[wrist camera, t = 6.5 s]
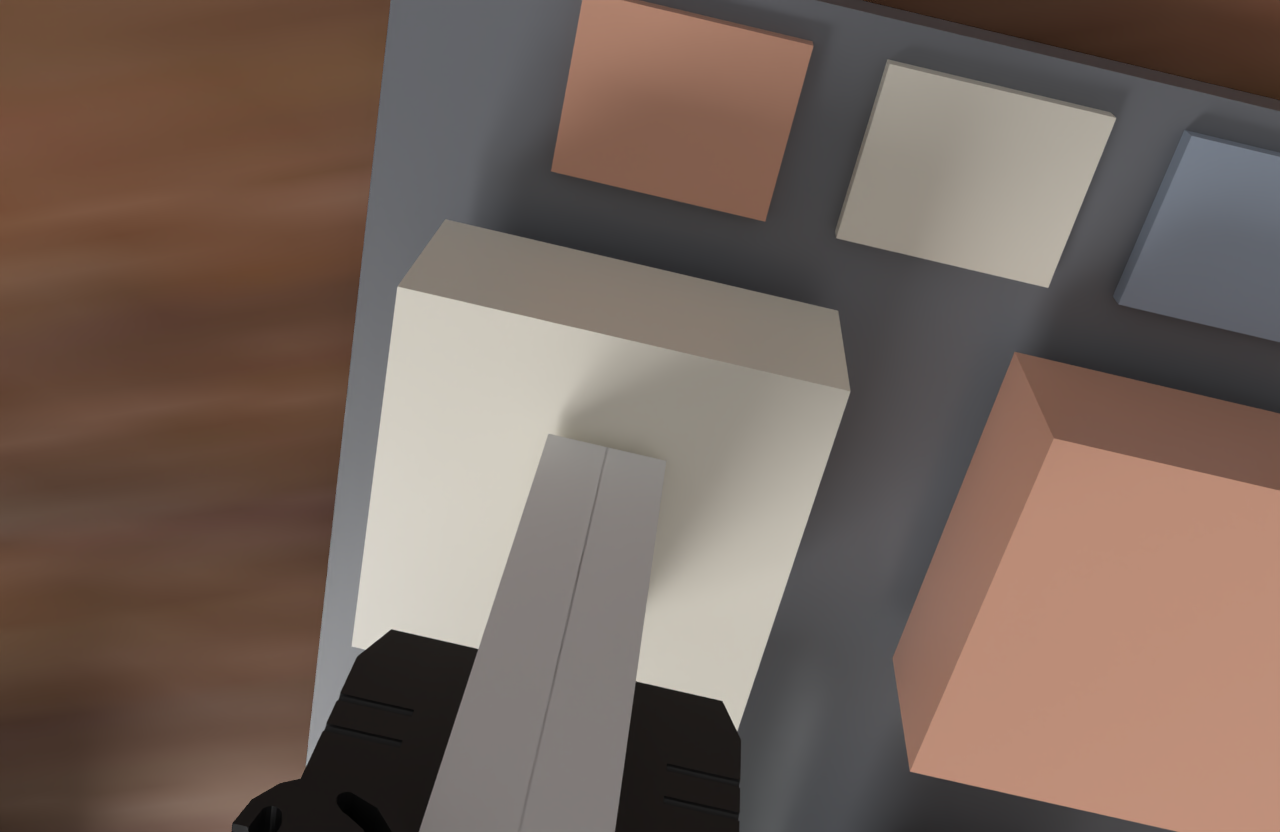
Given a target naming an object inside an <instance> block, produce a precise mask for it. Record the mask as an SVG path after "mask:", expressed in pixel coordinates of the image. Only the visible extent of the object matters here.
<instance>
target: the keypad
mask: <svg viewBox="0 0 1280 832" xmlns="http://www.w3.org/2000/svg"><path fill="white" fill-rule="evenodd" d="M445 219H447V220H451V221H455V222H460V223H464V224H468V225H472V226H477V227H481V228H485V229H490V230H494V231H498V232H503V233H507V234H511V235H515V236H520V237H524V238H528V239H533V240H537V241H541V242H545V243H550V244H554V245H558V246H563V247H567V248H571V249H575V250H580V251H584V252H588V253H593V254H597V255H601V256H606V257H610V258H614V259H618V260H623V261H627V262H631V263H636V264H640V265H644V266H648V267H653V268H657V269H661V270H666V271H670V272H674V273H678V274H683V275H687V276H691V277H696V278H700V279H704V280H709V281H713V282H717V283H721V284H726V285H730V286H734V287H739V288H743V289H747V290H751V291H756V292H760V293H764V294H769V295H773V296H777V297H781V298H786V299H790V300H794V301H799V302H803V303H807V304H812V305H816V306H820V307H824V308H829V309H833V310H837V311H838V313H839V319H840V326H841V332H842V339H843V345H844V352H845V358H846V365H847V371H848V378H849V385H850V391H851V392H850V395H849V398H848V401H847V404H846V407H845V410H844V413H843V416H842V419H841V422H840V425H839V428H838V431H837V434H836V437H835V440H834V443H833V446H832V449H831V452H830V455H829V458H828V461H827V464H826V467H825V470H824V473H823V476H822V479H821V482H820V485H819V488H818V491H817V494H816V497H815V500H814V503H813V506H812V509H811V512H810V515H809V518H808V521H807V524H806V527H805V530H804V533H803V536H802V539H801V542H800V545H799V548H798V551H797V554H796V557H795V560H794V563H793V566H792V569H791V572H790V575H789V578H788V581H787V584H786V587H785V590H784V593H783V596H782V599H781V602H780V605H779V608H778V611H777V614H776V617H775V620H774V623H773V626H772V629H771V632H770V635H769V638H768V641H767V644H766V647H765V650H764V653H763V656H762V659H761V662H760V665H759V668H758V671H757V674H756V677H755V680H754V683H753V686H752V689H751V692H750V695H749V698H748V701H747V704H746V707H745V710H744V713H743V716H742V719H741V722H740V725H739V728H738V731H737V732H738V734H739V736H740V739H741V774H740V783H739V788H740V813H739V818H738V821H740V823H739V832H1177V831H1173V830H1168V829H1164V828H1159V827H1155V826H1150V825H1146V824H1141V823H1137V822H1132V821H1128V820H1123V819H1119V818H1115V817H1110V816H1106V815H1101V814H1097V813H1092V812H1088V811H1083V810H1079V809H1074V808H1070V807H1066V806H1061V805H1057V804H1052V803H1048V802H1043V801H1039V800H1034V799H1030V798H1025V797H1021V796H1017V795H1012V794H1008V793H1003V792H999V791H994V790H990V789H985V788H981V787H976V786H972V785H967V784H963V783H959V782H954V781H950V780H945V779H941V778H936V777H932V776H927V775H923V774H918V773H914V772H910V769H909V762H908V756H907V749H906V743H905V736H904V730H903V724H902V717H901V711H900V704H899V698H898V691H897V685H896V678H895V672H894V665H893V659H892V658H893V656H894V653H895V651H896V648H897V646H898V643H899V641H900V638H901V636H902V633H903V631H904V628H905V626H906V623H907V621H908V618H909V616H910V613H911V611H912V608H913V606H914V603H915V601H916V598H917V596H918V593H919V590H920V588H921V585H922V583H923V580H924V578H925V575H926V573H927V570H928V568H929V565H930V563H931V560H932V558H933V555H934V553H935V550H936V548H937V545H938V543H939V540H940V538H941V535H942V533H943V530H944V528H945V525H946V523H947V520H948V518H949V515H950V513H951V510H952V508H953V505H954V503H955V500H956V498H957V495H958V493H959V490H960V488H961V485H962V483H963V480H964V478H965V475H966V473H967V470H968V468H969V465H970V463H971V460H972V458H973V455H974V453H975V450H976V448H977V445H978V443H979V440H980V438H981V435H982V432H983V430H984V427H985V425H986V422H987V420H988V417H989V415H990V412H991V410H992V407H993V405H994V402H995V400H996V397H997V395H998V392H999V390H1000V387H1001V385H1002V382H1003V380H1004V377H1005V375H1006V372H1007V370H1008V367H1009V365H1010V362H1011V360H1012V357H1013V355H1014V352H1018V353H1022V354H1027V355H1031V356H1035V357H1039V358H1044V359H1048V360H1052V361H1057V362H1061V363H1065V364H1070V365H1074V366H1078V367H1082V368H1087V369H1091V370H1095V371H1100V372H1104V373H1108V374H1112V375H1117V376H1121V377H1125V378H1130V379H1134V380H1138V381H1142V382H1147V383H1151V384H1155V385H1160V386H1164V387H1168V388H1172V389H1177V390H1181V391H1185V392H1190V393H1194V394H1198V395H1203V396H1207V397H1211V398H1215V399H1220V400H1224V401H1228V402H1233V403H1237V404H1241V405H1245V406H1250V407H1254V408H1258V409H1263V410H1267V411H1271V412H1275V413H1280V100H1276V99H1272V98H1268V97H1264V96H1260V95H1256V94H1251V93H1247V92H1243V91H1239V90H1235V89H1230V88H1226V87H1222V86H1218V85H1214V84H1210V83H1205V82H1201V81H1197V80H1193V79H1189V78H1184V77H1180V76H1176V75H1172V74H1168V73H1164V72H1159V71H1155V70H1151V69H1147V68H1143V67H1138V66H1134V65H1130V64H1126V63H1122V62H1118V61H1113V60H1109V59H1105V58H1101V57H1097V56H1092V55H1088V54H1084V53H1080V52H1076V51H1072V50H1067V49H1063V48H1059V47H1055V46H1051V45H1046V44H1042V43H1038V42H1034V41H1030V40H1026V39H1021V38H1017V37H1013V36H1009V35H1005V34H1000V33H996V32H992V31H988V30H984V29H980V28H975V27H971V26H967V25H963V24H959V23H954V22H950V21H946V20H942V19H938V18H934V17H929V16H925V15H921V14H917V13H913V12H909V11H904V10H900V9H896V8H892V7H888V6H883V5H879V4H875V3H871V2H867V1H863V0H391V4H390V13H389V22H388V31H387V40H386V49H385V57H384V66H383V75H382V84H381V93H380V102H379V111H378V120H377V129H376V138H375V147H374V156H373V165H372V174H371V183H370V192H369V201H368V210H367V219H366V228H365V237H364V246H363V255H362V264H361V273H360V282H359V291H358V300H357V309H356V318H355V327H354V336H353V345H352V354H351V363H350V372H349V381H348V390H347V399H346V408H345V417H344V426H343V435H342V444H341V453H340V462H339V471H338V480H337V489H336V498H335V507H334V516H333V525H332V534H331V543H330V552H329V561H328V570H327V579H326V588H325V597H324V606H323V615H322V624H321V633H320V642H319V651H318V660H317V669H316V678H315V687H314V696H313V705H312V714H311V723H310V732H309V741H308V750H307V759H306V766H307V764H308V762H309V760H310V757H311V755H312V753H313V751H314V749H315V747H316V744H317V742H318V740H319V738H320V736H321V734H322V731H324V730H325V727H326V723H327V720H328V718H329V716H330V714H331V712H332V710H333V707H334V705H335V703H336V701H337V700H338V699H339V696H340V692H341V690H342V688H343V686H344V684H345V681H346V679H347V677H348V675H349V673H350V671H351V668H352V666H353V664H354V662H355V660H356V658H357V656H358V655H360V654H361V653H362V652H363V651H365V649H360V648H356V647H352V639H353V631H354V623H355V615H356V608H357V600H358V592H359V584H360V576H361V568H362V560H363V553H364V545H365V537H366V529H367V521H368V513H369V505H370V498H371V490H372V482H373V474H374V466H375V458H376V450H377V443H378V435H379V427H380V419H381V411H382V403H383V395H384V388H385V380H386V372H387V364H388V356H389V348H390V341H391V333H392V325H393V317H394V309H395V301H396V293H397V286H398V285H399V284H400V282H401V281H402V279H403V278H404V277H405V275H406V274H407V272H408V271H409V270H410V268H411V267H412V265H413V264H414V262H415V261H416V260H417V258H418V257H419V255H420V254H421V253H422V251H423V250H424V248H425V247H426V246H427V244H428V243H429V241H430V240H431V239H432V237H433V236H434V234H435V233H436V232H437V230H438V229H439V227H440V226H441V225H442V223H443V222H444V220H445Z"/></svg>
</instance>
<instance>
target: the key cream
mask: <svg viewBox="0 0 1280 832" xmlns="http://www.w3.org/2000/svg"><path fill="white" fill-rule="evenodd" d="M850 392H851V391H850V385H849V378H848V371H847V365H846V358H845V352H844V345H843V339H842V332H841V326H840V319H839V313H838V311H837V310H833V309H829V308H824V307H820V306H816V305H812V304H807V303H803V302H799V301H794V300H790V299H786V298H781V297H777V296H773V295H769V294H764V293H760V292H756V291H751V290H747V289H743V288H739V287H734V286H730V285H726V284H721V283H717V282H713V281H709V280H704V279H700V278H696V277H691V276H687V275H683V274H678V273H674V272H670V271H666V270H661V269H657V268H653V267H648V266H644V265H640V264H636V263H631V262H627V261H623V260H618V259H614V258H610V257H606V256H601V255H597V254H593V253H588V252H584V251H580V250H575V249H571V248H567V247H563V246H558V245H554V244H550V243H545V242H541V241H537V240H533V239H528V238H524V237H520V236H515V235H511V234H507V233H503V232H498V231H494V230H490V229H485V228H481V227H477V226H472V225H468V224H464V223H460V222H455V221H451V220H447V219H445V220H444V222H443V223H442V225H441V226H440V227H439V229H438V230H437V232H436V233H435V234H434V236H433V237H432V239H431V240H430V241H429V243H428V244H427V246H426V247H425V248H424V250H423V251H422V253H421V254H420V255H419V257H418V258H417V260H416V261H415V262H414V264H413V265H412V267H411V268H410V270H409V271H408V272H407V274H406V275H405V277H404V278H403V279H402V281H401V282H400V284H399V285H398V286H397V293H396V301H395V309H394V317H393V325H392V333H391V341H390V348H389V356H388V364H387V372H386V380H385V388H384V395H383V403H382V411H381V419H380V427H379V435H378V443H377V450H376V458H375V466H374V474H373V482H372V490H371V498H370V505H369V513H368V521H367V529H366V537H365V545H364V553H363V560H362V568H361V576H360V584H359V592H358V600H357V608H356V615H355V623H354V631H353V639H352V647H356V648H360V649H365V650H366V649H367V648H368V647H370V646H371V645H372V644H373V643H375V642H376V641H377V640H378V639H380V638H381V637H382V636H383V635H385V634H386V633H387V632H388V631H390V630H391V629H393V630H397V631H402V632H406V633H411V634H415V635H419V636H424V637H428V638H433V639H437V640H441V641H446V642H450V643H455V644H459V645H463V646H468V647H472V648H477V649H479V646H480V643H481V639H482V636H483V633H484V630H485V627H486V624H487V621H488V618H489V615H490V612H491V609H492V606H493V603H494V599H495V596H496V593H497V590H498V587H499V584H500V581H501V578H502V575H503V572H504V569H505V566H506V563H507V560H508V556H509V553H510V550H511V547H512V544H513V541H514V538H515V535H516V532H517V529H518V526H519V523H520V520H521V517H522V513H523V510H524V507H525V504H526V501H527V498H528V495H529V492H530V489H531V486H532V483H533V480H534V477H535V473H536V470H537V467H538V464H539V461H540V458H541V455H542V452H543V449H544V446H545V443H546V440H547V437H548V434H552V435H556V436H561V437H565V438H569V439H574V440H578V441H582V442H587V443H591V444H595V445H600V446H604V447H608V448H613V449H617V450H621V451H626V452H630V453H634V454H639V455H643V456H647V457H652V458H656V459H660V460H665V461H666V467H665V474H664V482H663V489H662V496H661V503H660V510H659V518H658V525H657V532H656V539H655V546H654V554H653V561H652V568H651V575H650V582H649V590H648V597H647V604H646V611H645V618H644V626H643V633H642V640H641V647H640V654H639V662H638V669H637V676H636V681H637V682H641V683H645V684H650V685H654V686H659V687H663V688H667V689H672V690H676V691H681V692H685V693H690V694H694V695H698V696H703V697H707V698H712V699H716V700H720V701H723V703H724V705H725V707H726V709H727V711H728V713H729V716H730V718H731V720H732V722H733V724H734V726H735V728H736V730H737V731H738V728H739V725H740V722H741V719H742V716H743V713H744V710H745V707H746V704H747V701H748V698H749V695H750V692H751V689H752V686H753V683H754V680H755V677H756V674H757V671H758V668H759V665H760V662H761V659H762V656H763V653H764V650H765V647H766V644H767V641H768V638H769V635H770V632H771V629H772V626H773V623H774V620H775V617H776V614H777V611H778V608H779V605H780V602H781V599H782V596H783V593H784V590H785V587H786V584H787V581H788V578H789V575H790V572H791V569H792V566H793V563H794V560H795V557H796V554H797V551H798V548H799V545H800V542H801V539H802V536H803V533H804V530H805V527H806V524H807V521H808V518H809V515H810V512H811V509H812V506H813V503H814V500H815V497H816V494H817V491H818V488H819V485H820V482H821V479H822V476H823V473H824V470H825V467H826V464H827V461H828V458H829V455H830V452H831V449H832V446H833V443H834V440H835V437H836V434H837V431H838V428H839V425H840V422H841V419H842V416H843V413H844V410H845V407H846V404H847V401H848V398H849V395H850Z"/></svg>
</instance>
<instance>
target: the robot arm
mask: <svg viewBox="0 0 1280 832" xmlns="http://www.w3.org/2000/svg"><path fill="white" fill-rule="evenodd" d="M665 467H666V461H665V460H660V459H656V458H652V457H647V456H643V455H639V454H634V453H630V452H626V451H621V450H617V449H613V448H608V447H604V446H600V445H595V444H591V443H587V442H582V441H578V440H574V439H569V438H565V437H561V436H556V435H552V434H548V437H547V440H546V443H545V446H544V449H543V452H542V455H541V458H540V461H539V464H538V467H537V470H536V473H535V477H534V480H533V483H532V486H531V489H530V492H529V495H528V498H527V501H526V504H525V507H524V510H523V513H522V517H521V520H520V523H519V526H518V529H517V532H516V535H515V538H514V541H513V544H512V547H511V550H510V553H509V556H508V560H507V563H506V566H505V569H504V572H503V575H502V578H501V581H500V584H499V587H498V590H497V593H496V596H495V599H494V603H493V606H492V609H491V612H490V615H489V618H488V621H487V624H486V627H485V630H484V633H483V636H482V639H481V643H480V646H479V649H477V648H472V647H468V646H463V645H459V644H455V643H450V642H446V641H441V640H437V639H433V638H428V637H424V636H419V635H415V634H411V633H406V632H402V631H397V630H393V629H391V630H390V631H388V632H387V633H386V634H385V635H383V636H382V637H381V638H380V639H378V640H377V641H376V642H375V643H373V644H372V645H371V646H370V647H368V648H367V649H366V650H365V651H363V652H362V653H361V654H360V655H358V656H357V658H356V660H355V662H354V664H353V666H352V668H351V671H350V673H349V675H348V677H347V679H346V681H345V684H344V686H343V688H342V690H341V692H340V696H339V699H338V700H337V701H336V703H335V705H334V707H333V710H332V712H331V714H330V716H329V718H328V720H327V723H326V727H325V730H324V731H322V734H321V736H320V738H319V740H318V742H317V744H316V747H315V749H314V751H313V753H312V755H311V757H310V760H309V762H308V764H307V766H306V768H305V770H304V773H303V775H302V777H301V779H297V780H293V781H288V782H284V783H280V784H278V785H276V786H274V787H273V788H271V789H269V790H268V791H266V792H264V793H262V794H261V795H259V796H257V797H256V798H254V799H252V800H251V801H250V802H249V804H248V805H247V806H246V807H245V809H244V810H243V811H242V812H241V813H240V815H239V816H238V817H237V818H236V820H235V821H234V822H233V823H232V832H739V823H740V821H738V818H739V813H740V788H739V783H740V774H741V739H740V736H739V734H738V732H737V730H736V728H735V726H734V724H733V722H732V720H731V718H730V716H729V713H728V711H727V709H726V707H725V705H724V703H723V701H720V700H716V699H712V698H707V697H703V696H698V695H694V694H690V693H685V692H681V691H676V690H672V689H667V688H663V687H659V686H654V685H650V684H645V683H641V682H637V681H636V676H637V669H638V662H639V654H640V647H641V640H642V633H643V626H644V618H645V611H646V604H647V597H648V590H649V582H650V575H651V568H652V561H653V554H654V546H655V539H656V532H657V525H658V518H659V510H660V503H661V496H662V489H663V482H664V474H665Z"/></svg>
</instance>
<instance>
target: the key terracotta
mask: <svg viewBox="0 0 1280 832" xmlns="http://www.w3.org/2000/svg"><path fill="white" fill-rule="evenodd" d="M892 659H893V665H894V672H895V678H896V685H897V691H898V698H899V704H900V711H901V717H902V724H903V730H904V736H905V743H906V749H907V756H908V762H909V769H910V772H914V773H918V774H923V775H927V776H932V777H936V778H941V779H945V780H950V781H954V782H959V783H963V784H967V785H972V786H976V787H981V788H985V789H990V790H994V791H999V792H1003V793H1008V794H1012V795H1017V796H1021V797H1025V798H1030V799H1034V800H1039V801H1043V802H1048V803H1052V804H1057V805H1061V806H1066V807H1070V808H1074V809H1079V810H1083V811H1088V812H1092V813H1097V814H1101V815H1106V816H1110V817H1115V818H1119V819H1123V820H1128V821H1132V822H1137V823H1141V824H1146V825H1150V826H1155V827H1159V828H1164V829H1168V830H1173V831H1177V832H1280V413H1275V412H1271V411H1267V410H1263V409H1258V408H1254V407H1250V406H1245V405H1241V404H1237V403H1233V402H1228V401H1224V400H1220V399H1215V398H1211V397H1207V396H1203V395H1198V394H1194V393H1190V392H1185V391H1181V390H1177V389H1172V388H1168V387H1164V386H1160V385H1155V384H1151V383H1147V382H1142V381H1138V380H1134V379H1130V378H1125V377H1121V376H1117V375H1112V374H1108V373H1104V372H1100V371H1095V370H1091V369H1087V368H1082V367H1078V366H1074V365H1070V364H1065V363H1061V362H1057V361H1052V360H1048V359H1044V358H1039V357H1035V356H1031V355H1027V354H1022V353H1018V352H1014V355H1013V357H1012V360H1011V362H1010V365H1009V367H1008V370H1007V372H1006V375H1005V377H1004V380H1003V382H1002V385H1001V387H1000V390H999V392H998V395H997V397H996V400H995V402H994V405H993V407H992V410H991V412H990V415H989V417H988V420H987V422H986V425H985V427H984V430H983V432H982V435H981V438H980V440H979V443H978V445H977V448H976V450H975V453H974V455H973V458H972V460H971V463H970V465H969V468H968V470H967V473H966V475H965V478H964V480H963V483H962V485H961V488H960V490H959V493H958V495H957V498H956V500H955V503H954V505H953V508H952V510H951V513H950V515H949V518H948V520H947V523H946V525H945V528H944V530H943V533H942V535H941V538H940V540H939V543H938V545H937V548H936V550H935V553H934V555H933V558H932V560H931V563H930V565H929V568H928V570H927V573H926V575H925V578H924V580H923V583H922V585H921V588H920V590H919V593H918V596H917V598H916V601H915V603H914V606H913V608H912V611H911V613H910V616H909V618H908V621H907V623H906V626H905V628H904V631H903V633H902V636H901V638H900V641H899V643H898V646H897V648H896V651H895V653H894V656H893V658H892Z"/></svg>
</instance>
